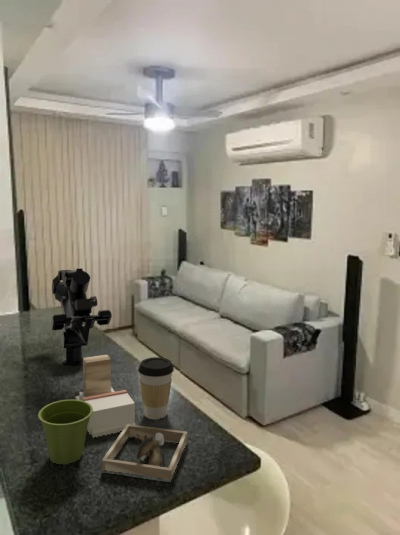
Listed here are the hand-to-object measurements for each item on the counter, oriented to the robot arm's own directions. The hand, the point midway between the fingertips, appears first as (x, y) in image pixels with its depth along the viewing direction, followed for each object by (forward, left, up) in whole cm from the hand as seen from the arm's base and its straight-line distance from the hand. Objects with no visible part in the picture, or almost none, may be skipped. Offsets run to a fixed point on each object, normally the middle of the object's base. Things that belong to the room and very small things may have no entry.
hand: (86, 342), depth 134 cm
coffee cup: (+14, +27, -14) cm, 34 cm away
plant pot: (+38, +13, -14) cm, 42 cm away
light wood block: (+11, +9, -12) cm, 19 cm away
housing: (+17, +13, -14) cm, 26 cm away
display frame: (+34, +31, -14) cm, 48 cm away
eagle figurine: (+35, +32, -14) cm, 50 cm away
